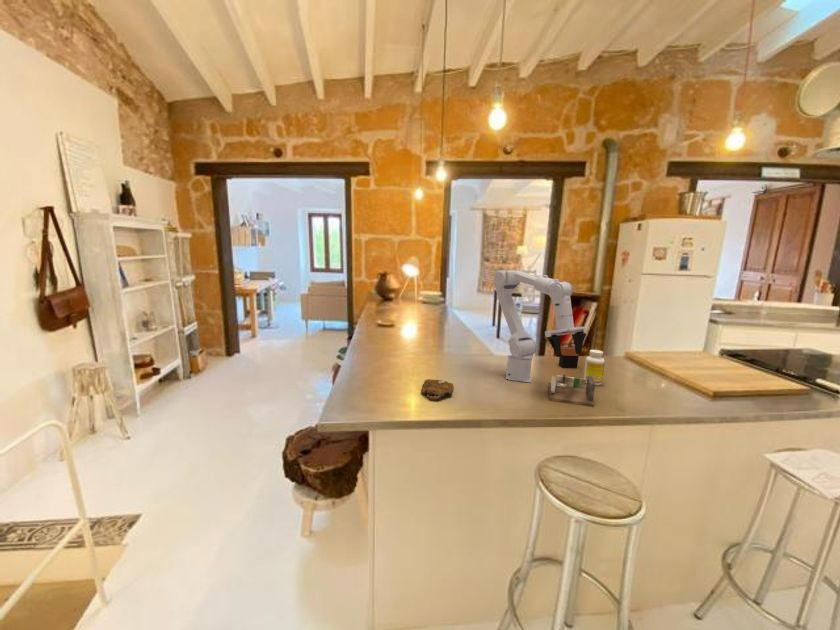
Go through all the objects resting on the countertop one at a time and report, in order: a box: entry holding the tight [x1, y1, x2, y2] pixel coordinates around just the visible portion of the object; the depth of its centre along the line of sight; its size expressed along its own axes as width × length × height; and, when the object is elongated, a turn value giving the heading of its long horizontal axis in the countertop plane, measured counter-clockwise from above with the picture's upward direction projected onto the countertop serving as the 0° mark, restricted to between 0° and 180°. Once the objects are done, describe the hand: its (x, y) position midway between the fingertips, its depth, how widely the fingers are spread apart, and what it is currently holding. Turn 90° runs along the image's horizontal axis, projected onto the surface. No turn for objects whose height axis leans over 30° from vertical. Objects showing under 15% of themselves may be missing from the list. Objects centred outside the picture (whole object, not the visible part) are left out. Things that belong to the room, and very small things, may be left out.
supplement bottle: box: [583, 349, 606, 386], centre depth 146 cm, size 7×7×13 cm
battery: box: [558, 343, 580, 369], centre depth 166 cm, size 4×7×10 cm, turn 93°
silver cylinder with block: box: [550, 374, 568, 393], centre depth 136 cm, size 6×10×4 cm, turn 162°
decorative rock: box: [421, 379, 455, 401], centre depth 132 cm, size 11×4×15 cm
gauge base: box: [548, 375, 596, 407], centre depth 134 cm, size 14×15×7 cm
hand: (568, 355), depth 130 cm, fingers open, 7 cm apart
